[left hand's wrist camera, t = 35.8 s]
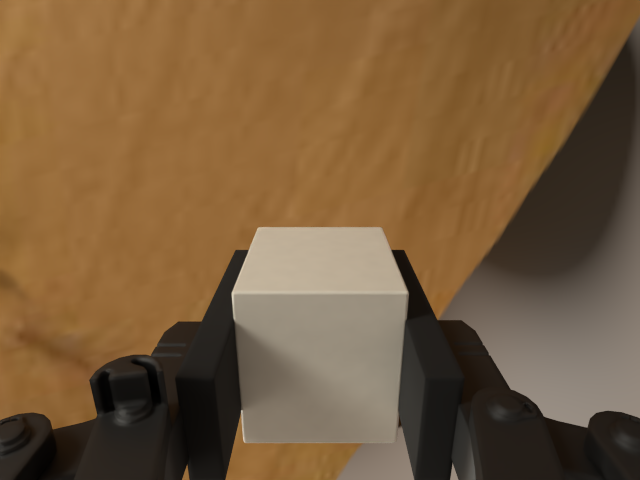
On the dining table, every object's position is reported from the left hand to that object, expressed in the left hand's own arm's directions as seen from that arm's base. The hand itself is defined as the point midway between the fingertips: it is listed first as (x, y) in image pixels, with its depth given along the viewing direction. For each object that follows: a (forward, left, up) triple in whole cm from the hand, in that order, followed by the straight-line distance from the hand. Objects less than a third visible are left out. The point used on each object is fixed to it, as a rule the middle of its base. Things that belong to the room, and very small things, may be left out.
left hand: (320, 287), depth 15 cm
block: (0, 0, 0) cm, 0 cm away
